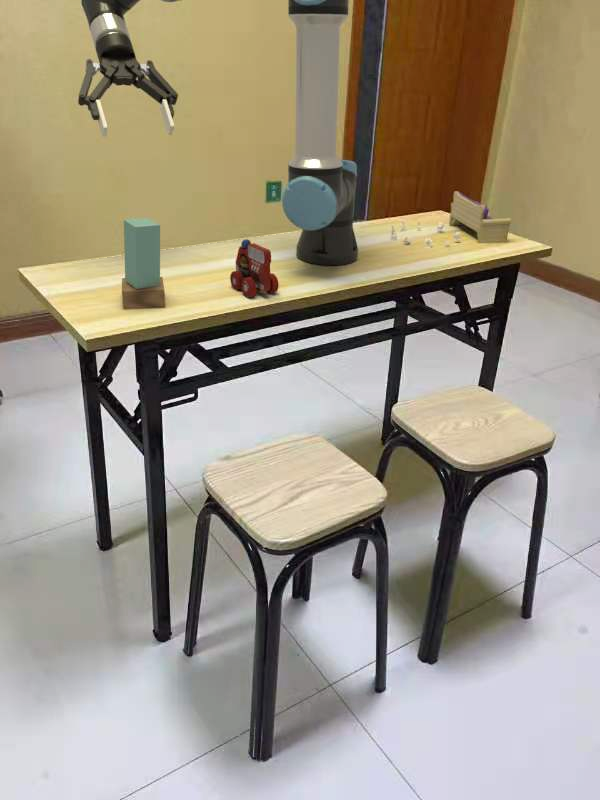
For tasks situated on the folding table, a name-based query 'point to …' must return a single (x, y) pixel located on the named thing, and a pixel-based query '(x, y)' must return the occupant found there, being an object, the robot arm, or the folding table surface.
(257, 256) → the toy fire truck
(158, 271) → the pillar
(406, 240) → the game piece set
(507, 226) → the toy sofa
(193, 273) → the folding table surface
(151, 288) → the slab
